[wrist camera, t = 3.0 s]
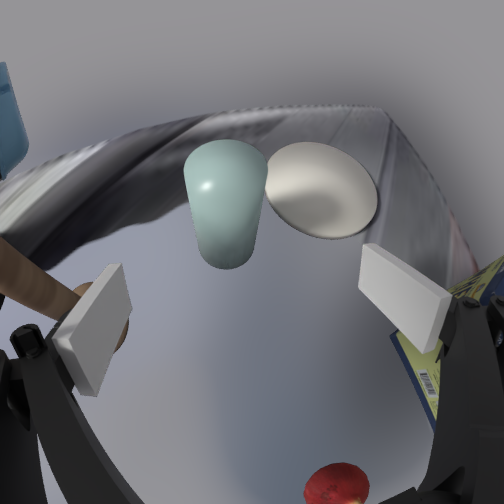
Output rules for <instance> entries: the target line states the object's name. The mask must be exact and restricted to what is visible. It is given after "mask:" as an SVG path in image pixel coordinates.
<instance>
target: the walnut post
mask: <svg viewBox="0 0 504 504" xmlns="http://www.w3.org/2000/svg"><path fill="white" fill-rule="evenodd" d="M92 284H93V282H88V283H84V284H82V285H80V286H78V287H77V288H75V289H74V290H73V291H71V290H70V289H69V288H67V287H66V286H64V285H63V284H61V283H60V282H58V281H57V280H55V279H54V278H53V277H51V276H50V275H49V274H47V273H46V272H44V271H43V270H42V269H40V268H39V267H38V266H36V265H35V264H34V263H32V262H31V261H30V260H29V259H27V258H26V257H25V256H23V255H22V254H21V253H20V252H19V251H17V250H16V249H15V248H14V247H12V246H11V245H10V244H9V243H8V242H6V241H5V240H4V239H3V238H2V237H1V236H0V293H2V294H3V295H5V296H7V297H9V298H11V299H13V300H15V301H17V302H19V303H20V304H23V305H24V306H27V307H28V308H31V309H33V310H35V311H37V312H39V313H41V314H43V315H45V316H48V317H50V318H52V319H54V320H57V321H58V320H59V319H60V317H61V316H62V315H63V314H64V313H65V312H67V311H68V310H70V309H73V308H74V307H75V305H76V304H77V303H78V301H79V300H80V299H81V297H82V296H83V295H84V294H85V292H86V291H87V290H88V289H89V287H90V286H91V285H92ZM128 325H129V317H128V320H127V322H126V324H125V327H124V329H123V331H122V334H121V336H120V338H119V341H118V343H117V346H116V348H115V351H114V353H115V352H116V351H117V350H118V349H119V348H120V346H121V345H122V343H123V342H124V340H125V338H126V335H127V331H128Z"/></svg>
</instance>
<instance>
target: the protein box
mask: <svg viewBox="0 0 504 504" xmlns="http://www.w3.org/2000/svg"><path fill="white" fill-rule="evenodd" d="M446 291H448V292H449V293H450V294H452V295H453V296H455V297H456V298H457V299H458V298H460V297H463V296H465V297H471V298H474V299H476V300H477V301H479V302H480V303H481V305H482V306H488V304H489V301H490V298H491V296H493V295H497V296H499V295H500V296H503V297H504V255H503V256H502V257H500V258H499V259H497V260H496V261H494V262H493V263H491V264H490V265H488V266H487V267H485V268H484V269H482V270H480V271H479V272H477V273H476V274H474V275H472V276H471V277H469V278H467V279H466V280H464V281H462V282H461V283H459V284H457V285H455V286H453V287H452V288H450V289H448V290H446ZM390 339H391V341H392V343H393V344H394V346H395V348H396V350H397V352H398V354H399V356H400V358H401V360H402V362H403V364H404V366H405V368H406V370H407V372H408V375H409V377H410V379H411V381H412V383H413V385H414V387H415V390H416V392H417V394H418V396H419V398H420V401H421V403H422V405H423V408H424V410H425V412H426V415H427V417H428V419H429V422H430V424H431V427H432V429H433V432H434V433H435V426H436V418H437V409H438V398H439V384H440V359H439V360H438V362H437V363H435V361H436V358H437V356H438V354H439V351H440V349H441V346H442V344H443V342H442V341H441V340H440V339H439V338H438V341H437V344H436V346H435V349H434V350H432V351H430V352H427V353H424V354H422V353H421V352H420V351H419V350H418V349H417V348H416V347H415V346H414V345H413V344H412V343H411V342H410V341H409V339H408V338H407V337H406V336H405V335H404V334H403V333H402V332H401V331H400V330H399V329H398V330H396V331H395V332H394V333H392V334H391V335H390ZM502 340H503V334H502V332H501V335H500V337H499V339H498V341H497V344H498V345H499V346H500V344H501V342H502Z"/></svg>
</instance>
